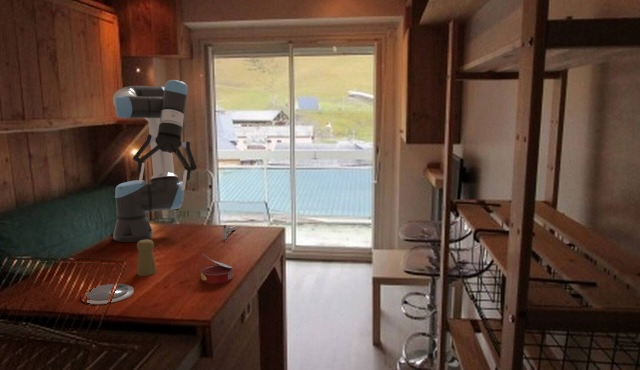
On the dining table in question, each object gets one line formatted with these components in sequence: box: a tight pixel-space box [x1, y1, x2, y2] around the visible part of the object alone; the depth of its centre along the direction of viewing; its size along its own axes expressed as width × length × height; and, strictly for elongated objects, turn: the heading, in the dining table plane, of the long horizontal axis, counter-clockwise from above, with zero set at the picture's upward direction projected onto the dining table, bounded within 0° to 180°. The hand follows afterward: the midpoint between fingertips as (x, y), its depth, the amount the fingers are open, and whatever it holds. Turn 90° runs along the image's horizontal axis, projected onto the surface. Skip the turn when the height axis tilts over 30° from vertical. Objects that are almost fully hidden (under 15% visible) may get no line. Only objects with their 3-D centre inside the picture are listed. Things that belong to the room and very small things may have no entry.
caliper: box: [222, 224, 238, 241], centre depth 200 cm, size 20×1×6 cm, turn 177°
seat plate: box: [86, 283, 135, 306], centre depth 134 cm, size 14×14×1 cm
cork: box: [136, 238, 157, 277], centre depth 151 cm, size 6×6×11 cm
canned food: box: [200, 253, 234, 284], centre depth 148 cm, size 11×10×10 cm
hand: (161, 186), depth 153 cm, fingers open, 13 cm apart
